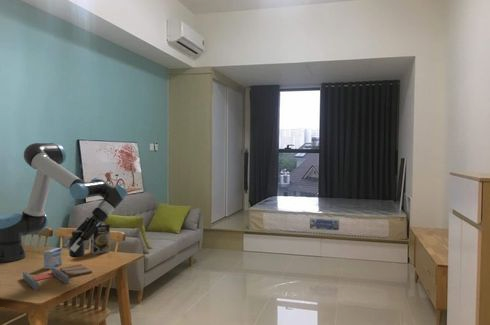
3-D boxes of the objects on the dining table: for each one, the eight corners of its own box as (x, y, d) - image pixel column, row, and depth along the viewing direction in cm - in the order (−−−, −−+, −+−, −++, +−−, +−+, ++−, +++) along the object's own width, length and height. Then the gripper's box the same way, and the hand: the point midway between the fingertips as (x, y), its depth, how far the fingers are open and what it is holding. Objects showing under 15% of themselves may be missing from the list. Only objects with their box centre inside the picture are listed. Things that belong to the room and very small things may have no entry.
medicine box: (51, 269, 192) (51, 252, 192) (43, 268, 193) (43, 251, 193) (62, 264, 200) (61, 248, 200) (54, 264, 201) (54, 247, 201)
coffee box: (93, 254, 220) (93, 226, 219) (90, 252, 225) (90, 224, 224) (109, 252, 226) (110, 224, 225) (105, 249, 231) (105, 222, 230)
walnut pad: (60, 270, 191) (60, 268, 191) (81, 266, 198) (81, 264, 198) (70, 277, 181) (70, 275, 181) (91, 272, 188) (91, 270, 188)
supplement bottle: (68, 258, 184) (68, 233, 184) (70, 254, 191) (70, 230, 191) (83, 257, 186) (83, 232, 186) (85, 253, 193) (85, 229, 192)
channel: (23, 278, 179) (23, 272, 179) (54, 272, 188) (54, 266, 188) (35, 290, 164) (35, 283, 164) (68, 283, 173) (68, 276, 173)
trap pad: (29, 278, 179) (29, 277, 179) (50, 273, 186) (50, 273, 186) (32, 281, 175) (32, 280, 175) (54, 277, 181) (54, 276, 181)
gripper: (116, 218, 191) (82, 257, 181) (100, 213, 206) (68, 249, 195) (105, 209, 187) (70, 248, 177) (89, 204, 202) (56, 240, 191)
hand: (69, 248), depth 186 cm, fingers closed on supplement bottle, 7 cm apart
